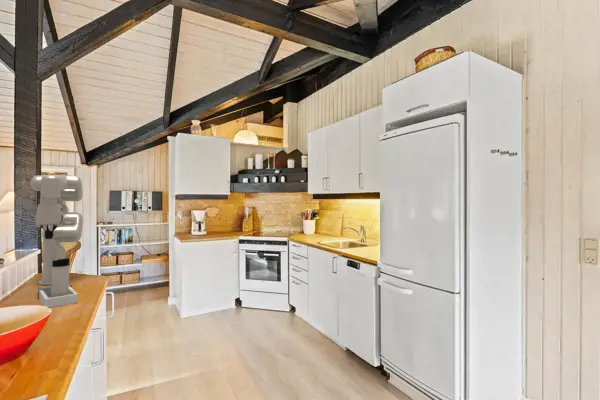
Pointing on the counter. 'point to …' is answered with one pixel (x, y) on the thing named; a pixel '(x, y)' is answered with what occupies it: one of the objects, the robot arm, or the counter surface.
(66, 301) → the grey rectangular frame
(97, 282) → the counter surface
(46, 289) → the cover gate
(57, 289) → the travel mug
